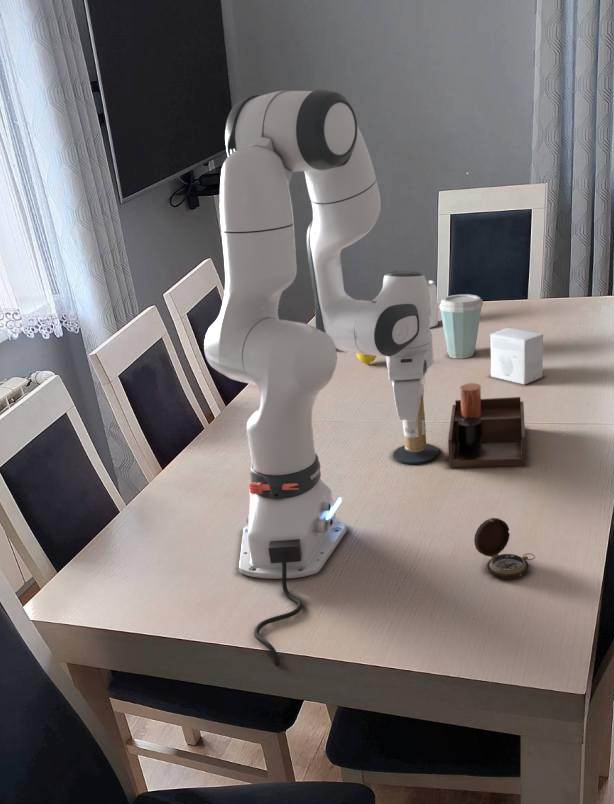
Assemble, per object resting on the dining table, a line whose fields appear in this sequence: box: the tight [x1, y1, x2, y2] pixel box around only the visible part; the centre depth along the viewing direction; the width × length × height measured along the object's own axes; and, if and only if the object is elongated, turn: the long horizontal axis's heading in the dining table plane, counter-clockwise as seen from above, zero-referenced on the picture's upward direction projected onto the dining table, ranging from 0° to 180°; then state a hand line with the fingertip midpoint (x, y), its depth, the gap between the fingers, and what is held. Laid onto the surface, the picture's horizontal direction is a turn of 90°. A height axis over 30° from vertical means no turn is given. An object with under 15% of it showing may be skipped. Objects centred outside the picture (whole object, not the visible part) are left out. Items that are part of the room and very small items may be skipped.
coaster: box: [392, 443, 439, 465], centre depth 176 cm, size 9×9×1 cm
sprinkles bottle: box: [402, 383, 428, 452], centre depth 173 cm, size 5×5×14 cm
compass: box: [473, 517, 536, 580], centre depth 135 cm, size 8×8×7 cm
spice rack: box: [447, 396, 526, 469], centre depth 173 cm, size 18×14×7 cm
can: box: [426, 280, 439, 329], centre depth 246 cm, size 6×6×12 cm
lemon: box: [355, 353, 377, 366], centre depth 226 cm, size 6×6×8 cm
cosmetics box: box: [489, 327, 544, 385], centre depth 202 cm, size 10×6×10 cm, turn 34°
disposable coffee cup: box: [438, 293, 484, 360], centre depth 219 cm, size 11×11×15 cm
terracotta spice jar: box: [459, 382, 482, 418], centre depth 176 cm, size 4×4×6 cm
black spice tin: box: [458, 417, 483, 459], centre depth 171 cm, size 4×4×7 cm
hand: (413, 422), depth 173 cm, fingers closed on sprinkles bottle, 4 cm apart
